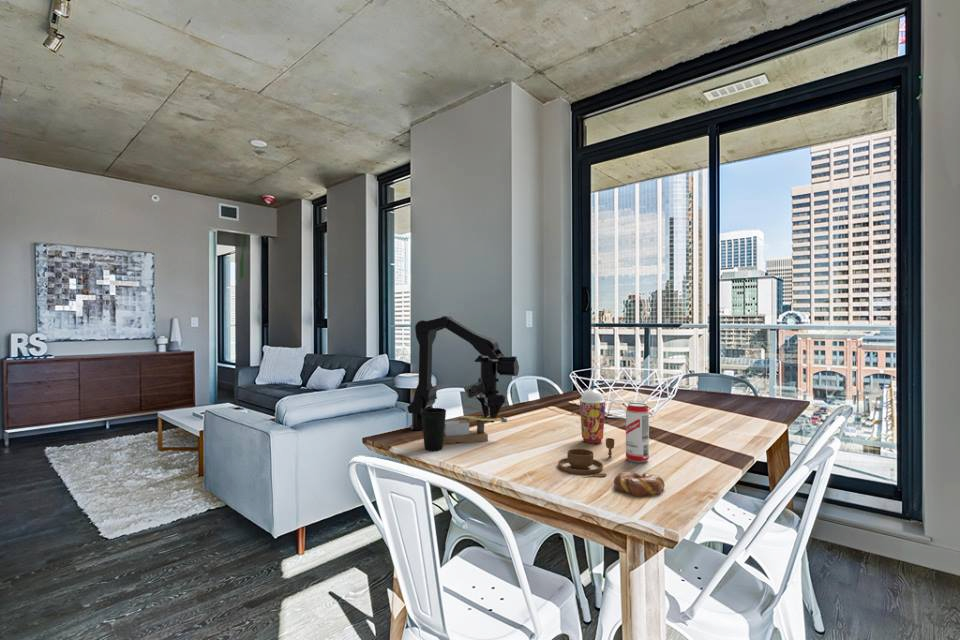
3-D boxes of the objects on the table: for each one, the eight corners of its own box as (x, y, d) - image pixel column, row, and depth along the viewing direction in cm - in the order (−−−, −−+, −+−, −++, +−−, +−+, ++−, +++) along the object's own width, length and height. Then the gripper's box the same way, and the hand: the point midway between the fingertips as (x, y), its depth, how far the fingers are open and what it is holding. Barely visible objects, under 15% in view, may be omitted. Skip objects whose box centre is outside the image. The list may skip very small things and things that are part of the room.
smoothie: (577, 438, 161) (577, 379, 161) (602, 438, 161) (602, 379, 161) (581, 444, 153) (582, 382, 153) (608, 445, 152) (608, 382, 152)
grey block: (442, 433, 159) (442, 421, 159) (466, 432, 161) (466, 420, 161) (445, 436, 155) (445, 424, 155) (469, 435, 157) (469, 423, 157)
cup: (447, 445, 151) (448, 408, 151) (443, 452, 144) (443, 412, 143) (424, 445, 152) (424, 407, 152) (418, 451, 144) (418, 412, 144)
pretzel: (654, 481, 119) (654, 467, 119) (673, 498, 108) (673, 482, 108) (607, 481, 119) (607, 466, 119) (621, 498, 108) (621, 481, 108)
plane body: (433, 439, 160) (433, 420, 160) (481, 435, 164) (482, 418, 164) (437, 444, 153) (437, 425, 153) (487, 440, 157) (487, 422, 157)
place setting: (547, 461, 137) (547, 441, 137) (611, 457, 141) (611, 437, 141) (573, 481, 120) (573, 458, 120) (644, 475, 124) (644, 453, 124)
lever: (461, 418, 164) (461, 414, 164) (507, 420, 160) (507, 417, 160) (458, 420, 160) (458, 416, 160) (505, 422, 157) (505, 419, 157)
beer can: (639, 464, 132) (639, 407, 132) (621, 459, 137) (621, 403, 137) (653, 461, 135) (653, 405, 135) (635, 455, 141) (635, 401, 141)
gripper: (459, 372, 172) (459, 415, 172) (473, 379, 154) (473, 427, 154) (489, 371, 175) (489, 414, 176) (505, 378, 157) (505, 425, 158)
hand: (488, 419), depth 166 cm, fingers open, 8 cm apart
